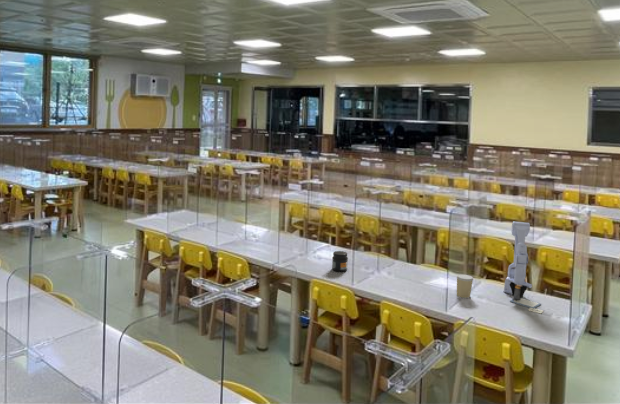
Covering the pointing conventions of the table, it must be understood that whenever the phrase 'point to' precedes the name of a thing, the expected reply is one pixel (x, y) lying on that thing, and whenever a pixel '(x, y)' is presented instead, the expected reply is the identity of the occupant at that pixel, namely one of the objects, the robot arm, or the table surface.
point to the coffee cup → (464, 285)
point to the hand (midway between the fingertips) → (517, 296)
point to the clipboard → (526, 303)
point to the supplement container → (339, 261)
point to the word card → (535, 310)
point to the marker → (517, 292)
